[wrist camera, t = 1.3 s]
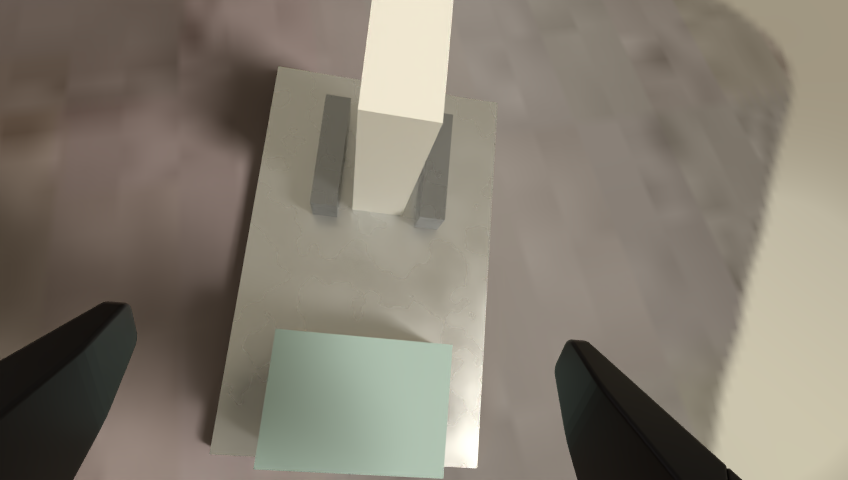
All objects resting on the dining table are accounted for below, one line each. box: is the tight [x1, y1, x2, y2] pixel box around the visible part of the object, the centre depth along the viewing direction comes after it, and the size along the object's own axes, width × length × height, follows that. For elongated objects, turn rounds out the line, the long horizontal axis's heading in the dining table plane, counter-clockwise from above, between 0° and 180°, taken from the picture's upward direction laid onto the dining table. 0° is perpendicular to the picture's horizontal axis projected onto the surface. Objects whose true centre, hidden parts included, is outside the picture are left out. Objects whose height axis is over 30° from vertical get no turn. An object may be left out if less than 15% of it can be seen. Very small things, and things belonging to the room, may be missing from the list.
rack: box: [210, 66, 497, 468], centre depth 23 cm, size 19×12×3 cm, turn 175°
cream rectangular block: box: [352, 0, 453, 216], centre depth 19 cm, size 4×2×10 cm, turn 175°
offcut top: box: [254, 329, 453, 479], centre depth 19 cm, size 5×7×2 cm
